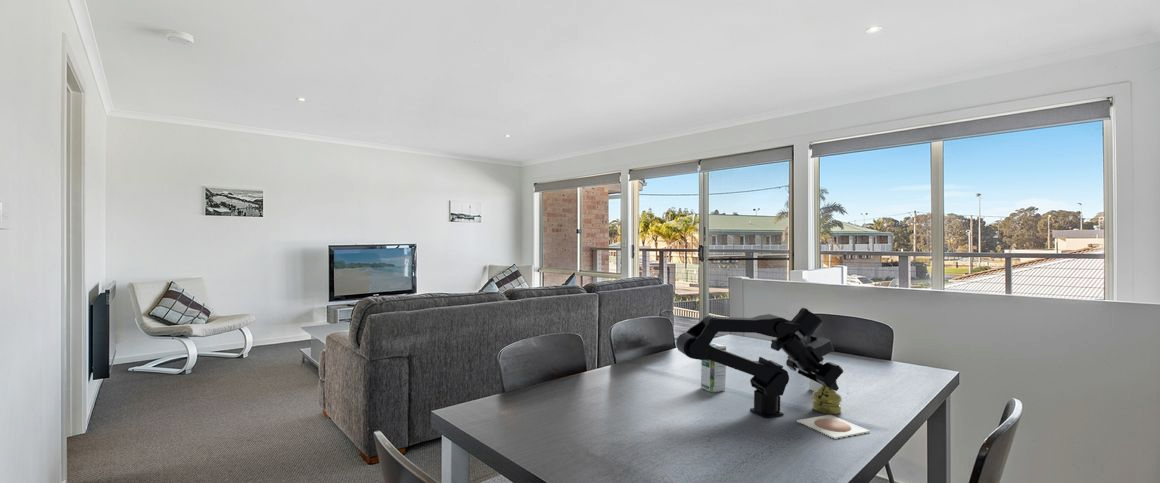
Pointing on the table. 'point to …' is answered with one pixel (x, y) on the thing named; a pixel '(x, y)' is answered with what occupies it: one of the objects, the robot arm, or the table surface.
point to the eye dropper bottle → (814, 384)
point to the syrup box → (713, 373)
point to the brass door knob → (826, 400)
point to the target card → (833, 426)
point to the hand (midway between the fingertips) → (831, 387)
